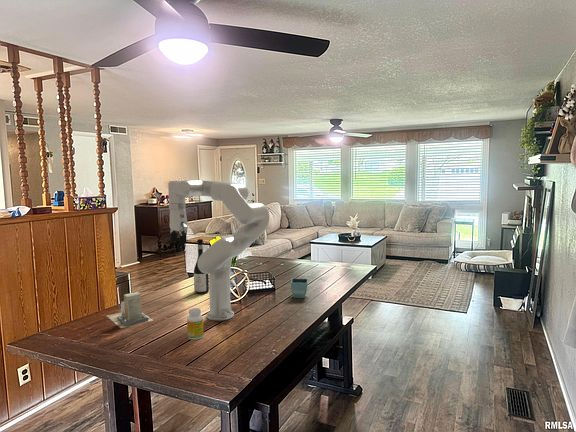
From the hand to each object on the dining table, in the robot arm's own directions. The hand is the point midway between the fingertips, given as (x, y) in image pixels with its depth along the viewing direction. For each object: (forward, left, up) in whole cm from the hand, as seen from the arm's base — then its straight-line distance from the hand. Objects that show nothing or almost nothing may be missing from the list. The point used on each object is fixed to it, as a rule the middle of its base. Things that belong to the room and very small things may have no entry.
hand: (178, 242), depth 190 cm
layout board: (+2, +24, -33) cm, 41 cm away
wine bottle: (+20, -22, -34) cm, 45 cm away
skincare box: (-3, +24, -32) cm, 40 cm away
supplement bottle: (-34, +10, -34) cm, 49 cm away
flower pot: (-23, -57, -34) cm, 70 cm away
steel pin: (+7, +24, -32) cm, 41 cm away
